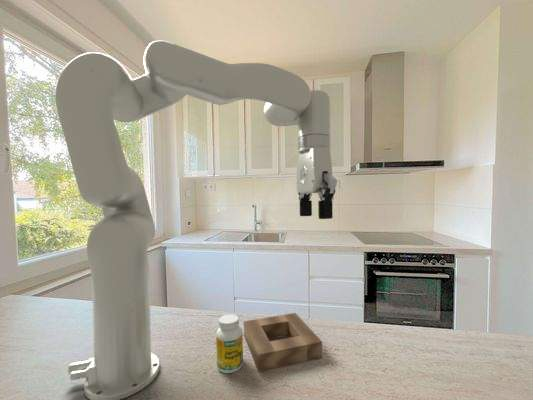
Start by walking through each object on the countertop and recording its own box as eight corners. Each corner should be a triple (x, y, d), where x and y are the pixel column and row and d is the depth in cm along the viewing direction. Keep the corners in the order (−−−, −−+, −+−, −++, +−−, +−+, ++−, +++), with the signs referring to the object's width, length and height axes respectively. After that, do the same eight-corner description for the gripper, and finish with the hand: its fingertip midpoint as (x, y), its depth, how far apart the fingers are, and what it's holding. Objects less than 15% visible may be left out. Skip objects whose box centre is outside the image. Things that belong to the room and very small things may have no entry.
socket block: (258, 372, 49) (258, 354, 49) (244, 335, 62) (243, 321, 62) (322, 357, 53) (322, 341, 53) (295, 326, 66) (295, 312, 66)
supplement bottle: (236, 353, 55) (235, 310, 55) (247, 367, 50) (246, 319, 50) (212, 363, 52) (211, 317, 52) (223, 378, 47) (222, 328, 47)
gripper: (286, 151, 67) (286, 215, 67) (317, 136, 50) (318, 220, 50) (311, 153, 69) (312, 214, 69) (349, 138, 52) (350, 219, 52)
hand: (314, 217), depth 60 cm, fingers open, 9 cm apart
